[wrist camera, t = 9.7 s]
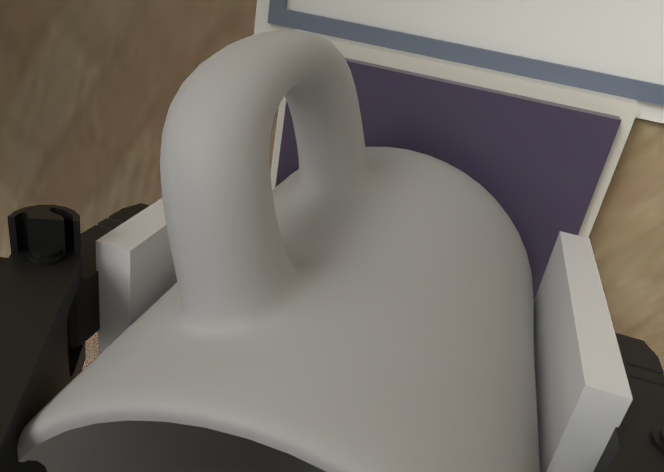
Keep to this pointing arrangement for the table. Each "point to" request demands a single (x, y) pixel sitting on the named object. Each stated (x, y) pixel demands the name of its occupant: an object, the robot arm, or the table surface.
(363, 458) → the mug
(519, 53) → the print card
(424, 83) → the ink pad
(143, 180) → the table surface
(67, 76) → the table surface
